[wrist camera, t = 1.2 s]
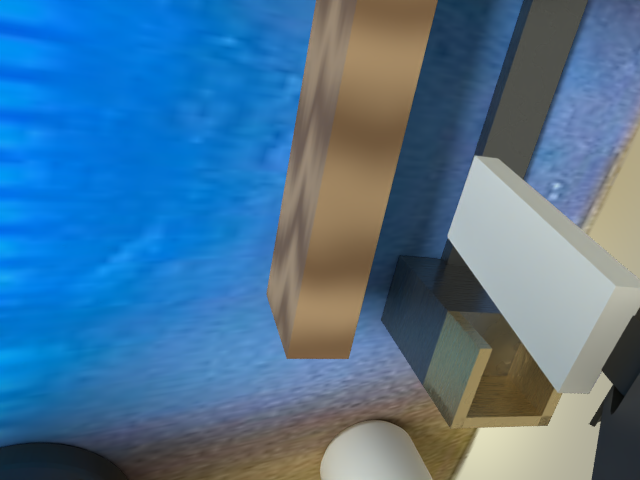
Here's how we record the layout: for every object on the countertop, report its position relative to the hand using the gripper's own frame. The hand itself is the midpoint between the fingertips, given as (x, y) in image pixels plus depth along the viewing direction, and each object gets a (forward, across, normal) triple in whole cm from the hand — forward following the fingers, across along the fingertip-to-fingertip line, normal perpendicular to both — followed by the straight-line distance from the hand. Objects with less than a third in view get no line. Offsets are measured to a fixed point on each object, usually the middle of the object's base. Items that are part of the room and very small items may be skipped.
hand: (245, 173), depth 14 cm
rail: (+20, -6, +3) cm, 21 cm away
